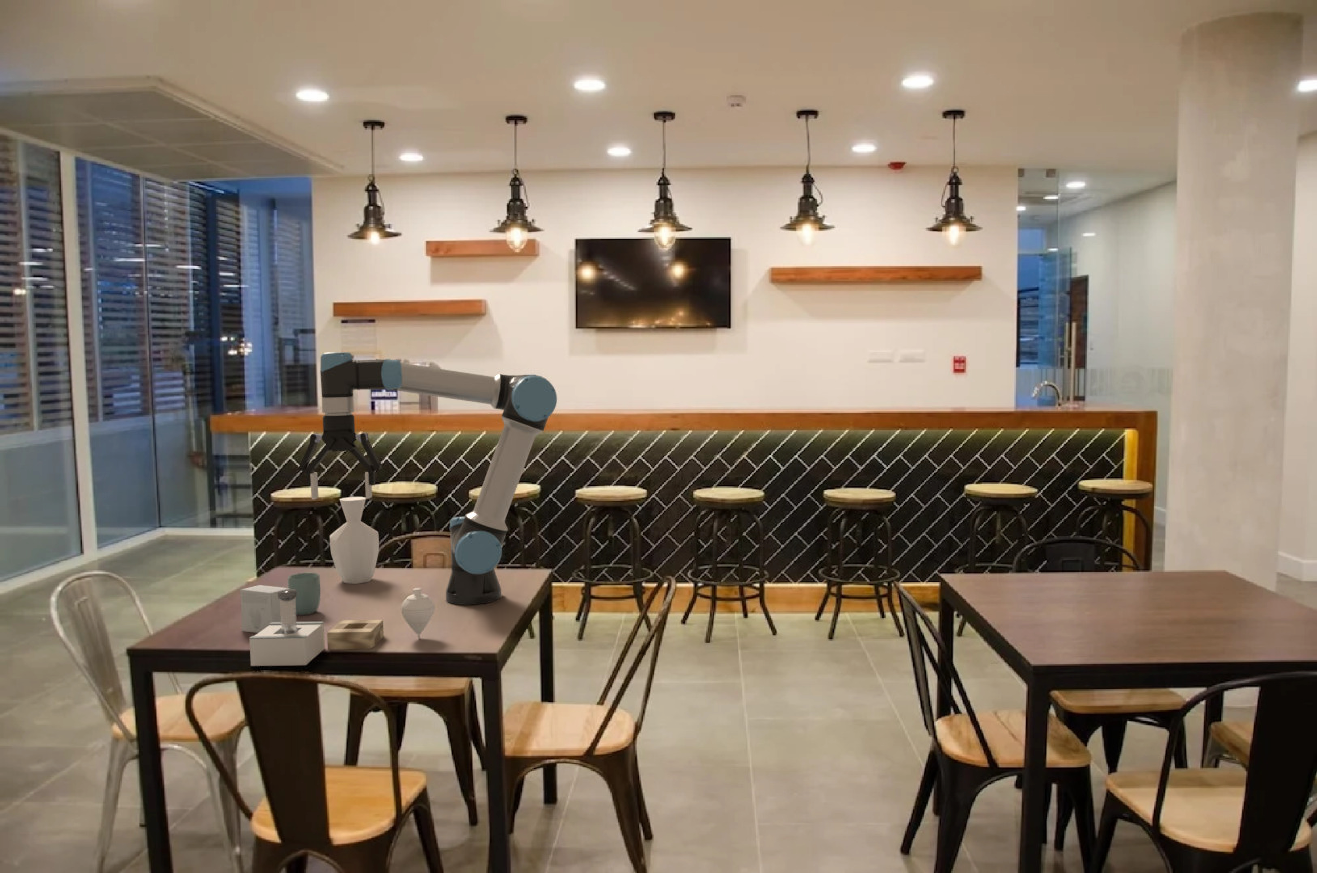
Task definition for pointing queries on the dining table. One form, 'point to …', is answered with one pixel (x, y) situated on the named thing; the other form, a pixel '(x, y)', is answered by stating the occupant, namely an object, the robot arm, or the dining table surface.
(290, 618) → the pin
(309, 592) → the cup
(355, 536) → the vase
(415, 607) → the spinning top
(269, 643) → the socket
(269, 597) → the skincare box
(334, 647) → the mount
